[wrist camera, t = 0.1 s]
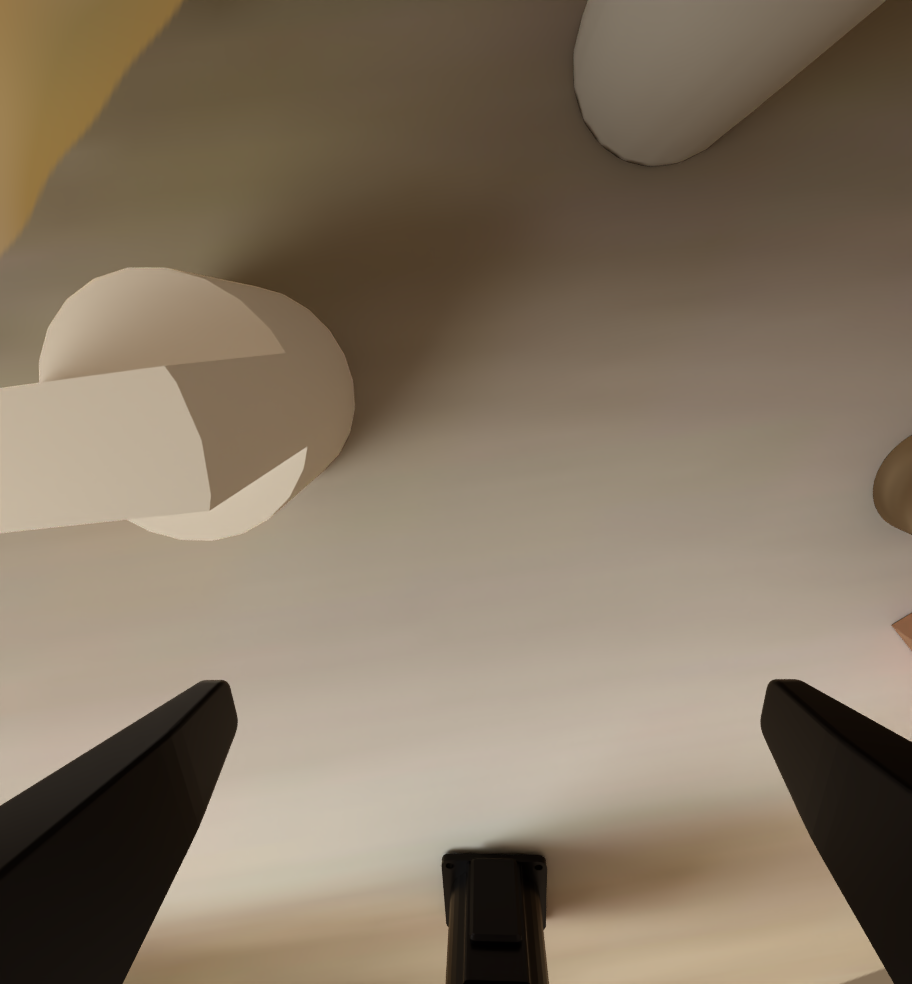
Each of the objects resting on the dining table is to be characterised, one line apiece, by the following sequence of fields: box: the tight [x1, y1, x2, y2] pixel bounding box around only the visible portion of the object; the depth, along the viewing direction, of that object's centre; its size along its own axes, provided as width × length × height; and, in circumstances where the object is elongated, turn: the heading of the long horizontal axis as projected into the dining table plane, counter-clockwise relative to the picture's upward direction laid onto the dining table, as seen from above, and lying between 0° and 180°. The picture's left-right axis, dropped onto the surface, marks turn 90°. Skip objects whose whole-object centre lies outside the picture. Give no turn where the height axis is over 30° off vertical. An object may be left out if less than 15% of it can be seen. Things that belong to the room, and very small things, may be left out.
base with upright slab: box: [0, 268, 355, 541], centre depth 16 cm, size 9×9×12 cm
